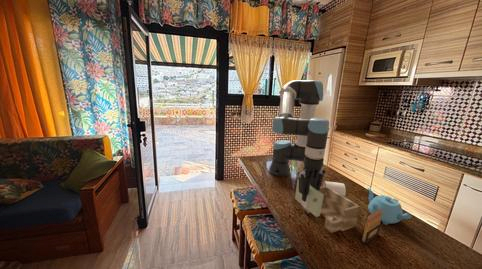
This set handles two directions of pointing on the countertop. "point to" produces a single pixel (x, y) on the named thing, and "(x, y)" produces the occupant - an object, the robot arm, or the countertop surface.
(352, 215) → the carcass
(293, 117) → the robot arm
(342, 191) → the mug
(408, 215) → the teapot
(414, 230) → the countertop surface
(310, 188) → the door
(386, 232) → the countertop surface
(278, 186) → the countertop surface
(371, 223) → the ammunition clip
